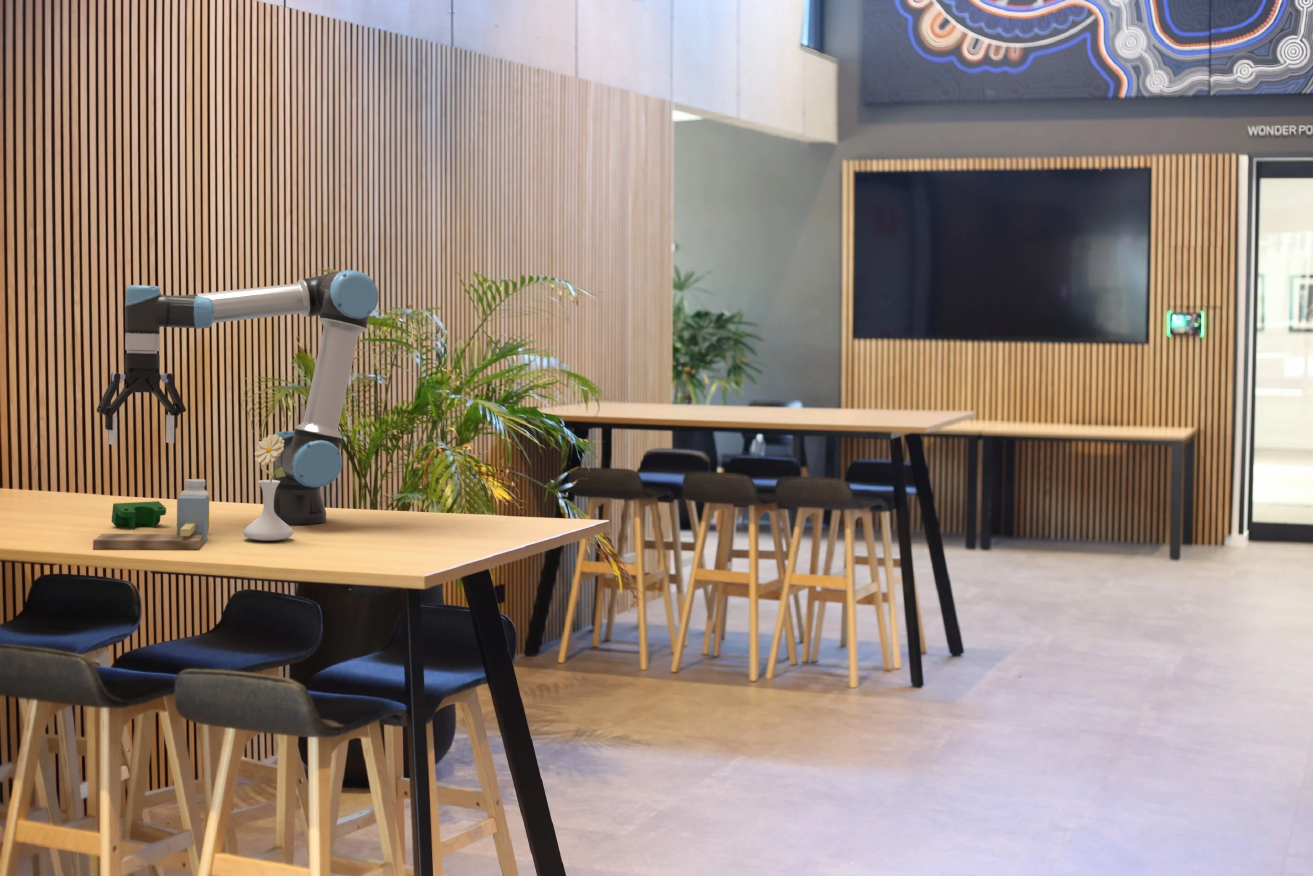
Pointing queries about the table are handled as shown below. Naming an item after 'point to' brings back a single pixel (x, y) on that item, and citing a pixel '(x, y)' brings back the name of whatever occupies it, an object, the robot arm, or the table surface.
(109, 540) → the board
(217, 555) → the table surface
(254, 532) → the flower in vase
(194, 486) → the supplement bottle
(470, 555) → the table surface
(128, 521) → the clamp
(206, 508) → the pale blue upright panel
